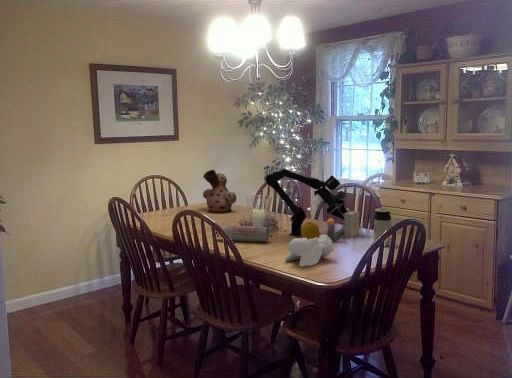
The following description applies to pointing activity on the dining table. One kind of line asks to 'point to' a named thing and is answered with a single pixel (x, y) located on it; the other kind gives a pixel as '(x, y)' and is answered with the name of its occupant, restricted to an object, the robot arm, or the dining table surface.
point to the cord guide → (331, 229)
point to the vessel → (218, 193)
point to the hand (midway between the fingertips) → (346, 217)
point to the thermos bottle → (247, 233)
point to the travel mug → (382, 223)
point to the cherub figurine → (309, 250)
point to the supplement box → (352, 224)
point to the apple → (310, 230)
